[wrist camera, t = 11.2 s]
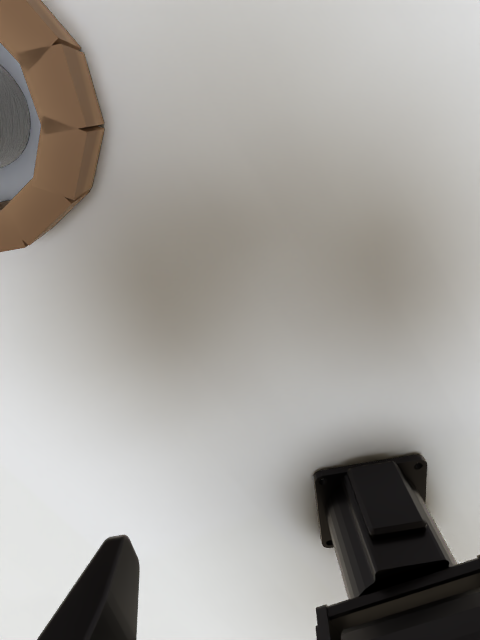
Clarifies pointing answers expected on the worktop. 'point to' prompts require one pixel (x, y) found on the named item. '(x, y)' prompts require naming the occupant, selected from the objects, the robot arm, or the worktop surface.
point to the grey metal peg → (12, 119)
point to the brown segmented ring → (50, 121)
